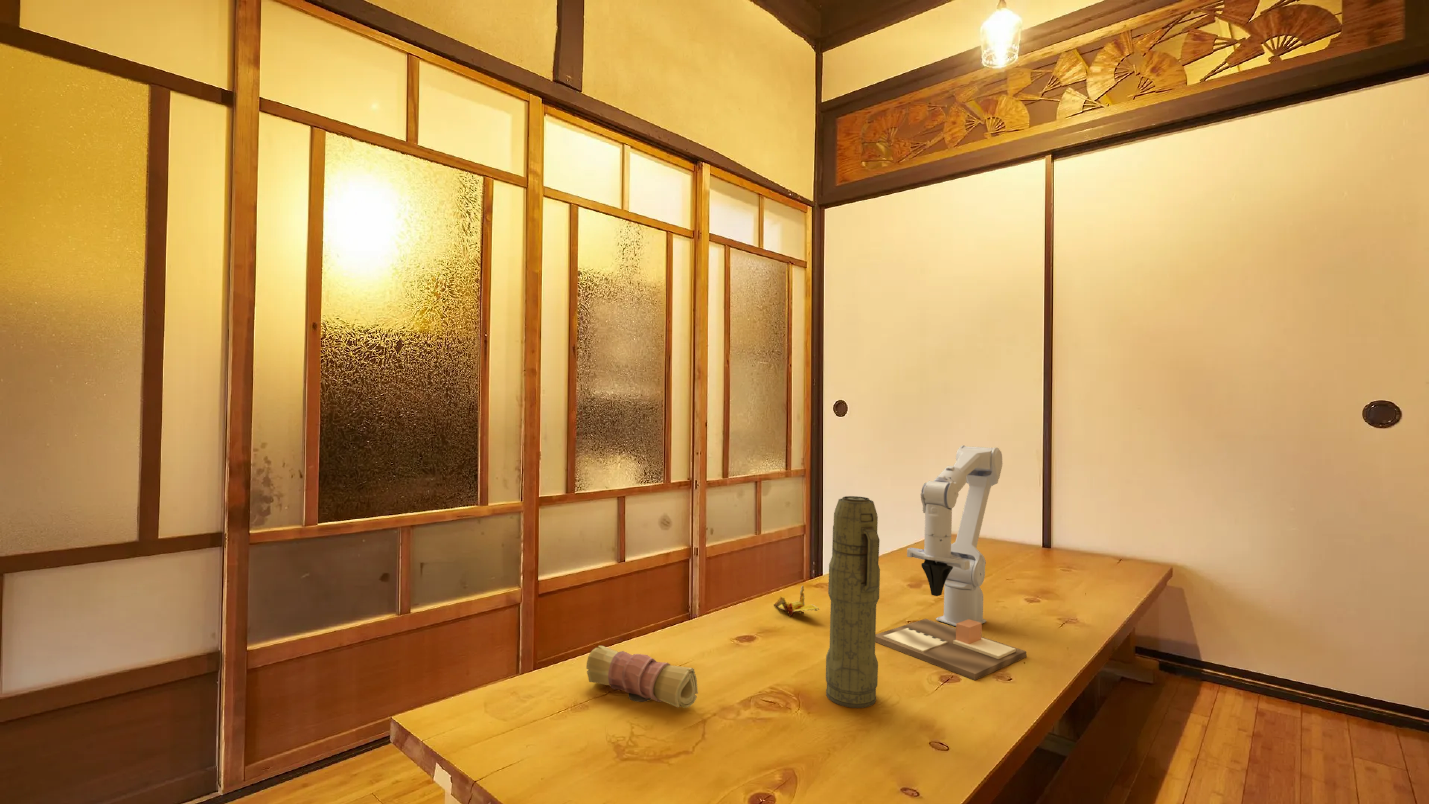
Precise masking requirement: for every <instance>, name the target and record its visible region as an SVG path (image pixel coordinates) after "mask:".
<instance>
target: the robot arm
mask: <svg viewBox="0 0 1429 804" xmlns="http://www.w3.org/2000/svg"><path fill="white" fill-rule="evenodd" d="M1002 468H1003V454H1002V451H1001V449H1000V447H996V446H995V447H984V446H968V445H967V446H966V445H963V444H962V445H960V446H959V448H958V449H957V451H956V455H955V463H954V464H953V466H952V465H947V466H946V467H945V468H944V469H943V470H942V471H941V472H940V473H939V474H938V475H937V476H936V477H935V478H934V480H928V481H927V482H925V483H924V484H923V485H922V488H921V490H920V491H921V493H920V501H921V503H922V513H923V514H924V540H923V541H924V543H923V544H924V545H923V547H924V548H923V549H922V548H917V547H908V548H906V557H907V558H914V559H918V560H924V562H922V563H921V564H920V565H921V568H922V570H923V572H924V574H925V576H926V578H927V582H928V585H929V589H930V594H931V596H933V597H939V596H942V594H943V595H944V597H943V615H941V616H938V617H936V618H935V620H936V621H938V622H940V623H941V622H942V623H943V624H944V623H945V624H946V625H947V624H948V625H949V626H954V627H956V623H959V622H962V621H965V620H968V619H970V620H973V621H977V622H980V623H982V624H984V623H987V619H984V594H983V590H982V588H981V586H982V585H983V583H984V581H985V577H986V559H985V555H983V553H982V552H981V551H979V549H978V548H977V547H978V542H979V539H980V538H979V537H980V534H981V529H982V525H983V521H984V516H985V514H986V513H985V511H986V507H987V503H988V499H989V496H990V492H991V488H992V487H993V486H995V485H997V484H999V479H1000V477H1001V472H1002ZM966 484H968V486H969V487H968V491H967V495H966V497H965V502H964V507H963V511H962V515H961V517H960V523H959V527H958V530H957V535H956V538H955V542H953V543H952V522H953V521H952V519H953V516H952V515H953V508H955V506H956V504H957V499H958V497H959V493H960V491H961V490H962V489H963V487H965V485H966ZM943 590H944V593H943Z"/></svg>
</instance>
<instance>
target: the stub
mask: <svg viewBox="0 0 1429 804" xmlns="http://www.w3.org/2000/svg"><path fill="white" fill-rule="evenodd" d="M982 624H983V623H980V622H977V621H973V620H970V619H968V620H965V621H962V622H959V623H956V626H955V628H956V640H954V641H953V644H956V645H959V646H962V647H965V648H967V649H970V650H973V651H976V652H979V653H982V654H985V655H988V656H991V657H994V658H996V659H1000V658H1002V657H1005V656H1007V655H1009V654H1012V653H1014V652H1016V649H1015V648H1016V647H1015V648H1012V647H1013V646H1012V647H1009V646H1010V645H1009V646H1006V645H1007V644H1006V645H1003V644H1004V643H1003V644H1000V643H1001V642H1000V643H996V642H993V641H990V640H991V639H990V640H987V639H988V638H987V639H984V638H985V637H984V638H981V637H982V629H983V628H982V627H983V625H982Z"/></svg>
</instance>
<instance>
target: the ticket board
mask: <svg viewBox="0 0 1429 804" xmlns="http://www.w3.org/2000/svg"><path fill="white" fill-rule="evenodd" d="M981 638H984V639H987V640H990V641H993V642H996V643H1000V644H1003V645H1006V646H1009V647H1012V648H1015V649H1016V652H1014V653H1012V654H1009V655H1007V656H1005V657H1002V658H1000V659H996V658H994V657H991V656H988V655H985V654H982V653H979V652H976V651H973V650H970V649H967V648H965V647H962V646H959V645H956V644H953V641H954V640H956V627H952V626H951V625H947V624H944V623H941V622H939V621H938V622H937V621H934V620H931V619H929V618H924V619H920V620H917V621H914V622H910V623H907V624H904V625H901V626H898V627H895V628H894V627H893V628H892V629H888V630H885V631H882V632H878V633H876V634H875V643H877V644H880V645H883V646H884V647H886V648H890V649H893V650H894V651H898V652H901V653H903V654H905V655H908V656H911V657H914V658H916V659H918V660H921V661H924V662H927V663H929V664H932V665H934V666H937V667H939V668H942V669H945V670H947V671H949V672H953V673H954V674H955V673H956V674H957V675H960V676H963V677H966V678H968V679H971V680H974V681H976V680H979V679H981V678H983V677H985V676H987V675H989V674H991V673H995V672H997V671H999V670H1000V669H1003V668H1005V667H1007V666H1010V665H1011V664H1014V663H1016V662H1018V661H1021V660H1022V659H1024V658H1026V657H1027V650H1024V649H1021V648H1017V647H1015V646H1012V645H1008V644H1005V643H1004V642H999V641H997V640H992V639H989V638H987V637H984V636H981Z"/></svg>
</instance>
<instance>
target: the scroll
mask: <svg viewBox="0 0 1429 804" xmlns="http://www.w3.org/2000/svg"><path fill="white" fill-rule="evenodd" d="M586 670H587V671H586V674H587V679H588V682H589V683H595V684H600V685H606V686H607V685H608V686H610V688H611V689H613V690H616V691H617V690H619V691H624V692H625V693H627V694H628V699H629V700H631V701H632V702H637V703H644V702H649V701H651V700H654V701H656V702H658V703H660V702H664V703H667V704H669V705H671V706H674V707H676V708H679V707H681V708H683V709H686V708H690V707H691V706H692V705H693V704H694V703H695V702H696V699H697V698H698V697H697V695H698V694H699V690H698V678H697V674H695V673H696V671H695V668H693V667H689V666H688V667H687V666H678V665H672V664H671V663H669V662H665V661H662V662H661V661H657V660H656V659H655V658H653V657H651V656H649V655H648V654H641V653H634V654H631V653H628V652H627V651H626V652H625V651H624V650H621V651H617V650H614V649H612V648H609V647H607V646H604V645H598V646H597V647H595V648H593V649H592V650H591V651H590V653H589V655H588V656H587V660H586Z"/></svg>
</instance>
